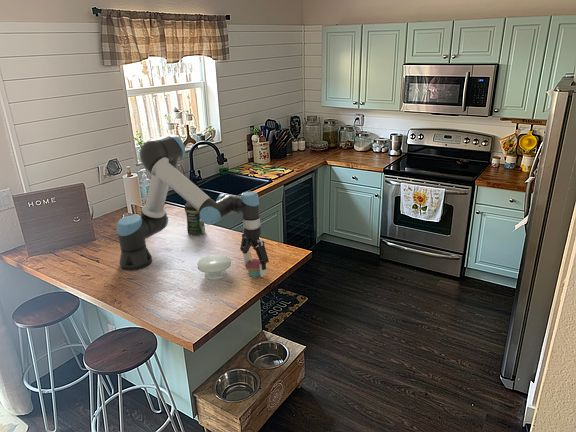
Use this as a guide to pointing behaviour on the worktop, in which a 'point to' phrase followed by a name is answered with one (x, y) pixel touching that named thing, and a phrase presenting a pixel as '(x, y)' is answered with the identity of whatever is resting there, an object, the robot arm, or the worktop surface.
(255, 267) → the cupcake
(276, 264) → the worktop surface
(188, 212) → the coffee jar
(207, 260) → the cake stand
